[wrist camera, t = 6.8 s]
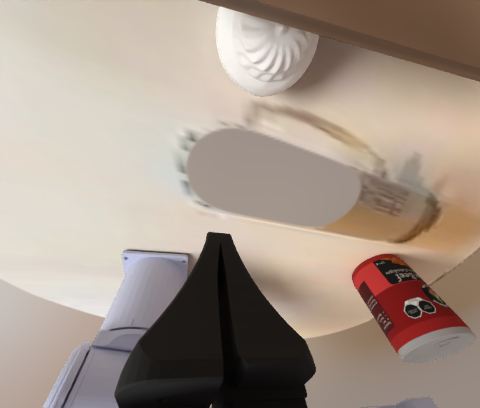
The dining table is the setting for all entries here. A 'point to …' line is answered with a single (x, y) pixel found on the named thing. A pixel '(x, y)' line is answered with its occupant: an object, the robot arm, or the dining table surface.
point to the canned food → (410, 311)
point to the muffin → (262, 52)
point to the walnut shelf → (385, 27)
